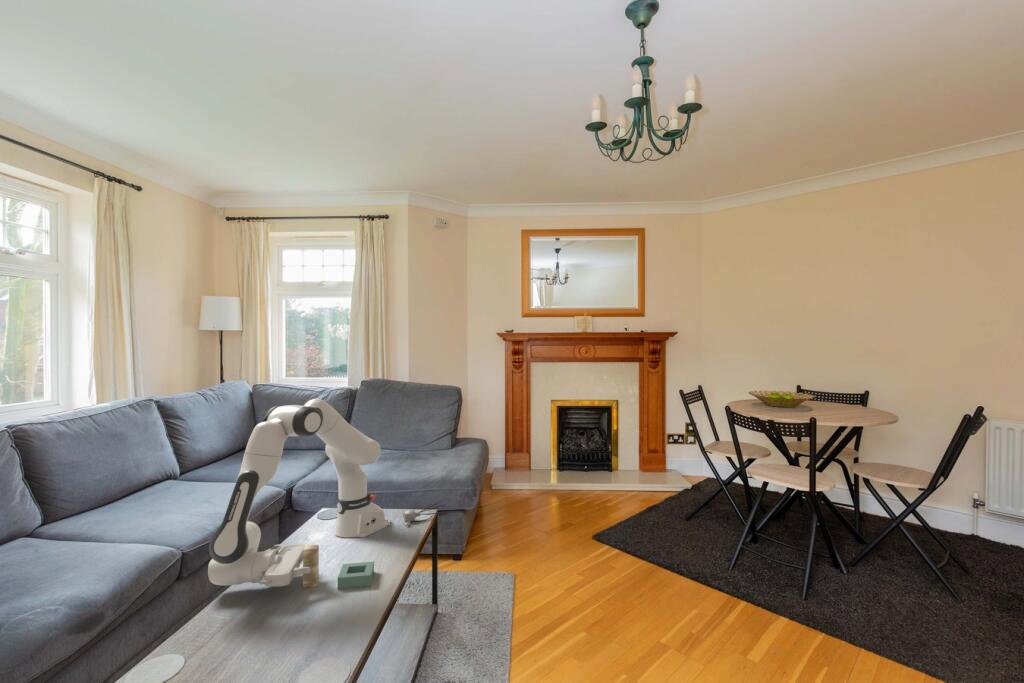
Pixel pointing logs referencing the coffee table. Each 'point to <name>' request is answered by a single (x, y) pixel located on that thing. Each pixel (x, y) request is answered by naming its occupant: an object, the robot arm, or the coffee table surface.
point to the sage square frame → (356, 575)
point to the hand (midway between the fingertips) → (313, 562)
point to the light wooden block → (313, 560)
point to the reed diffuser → (417, 514)
